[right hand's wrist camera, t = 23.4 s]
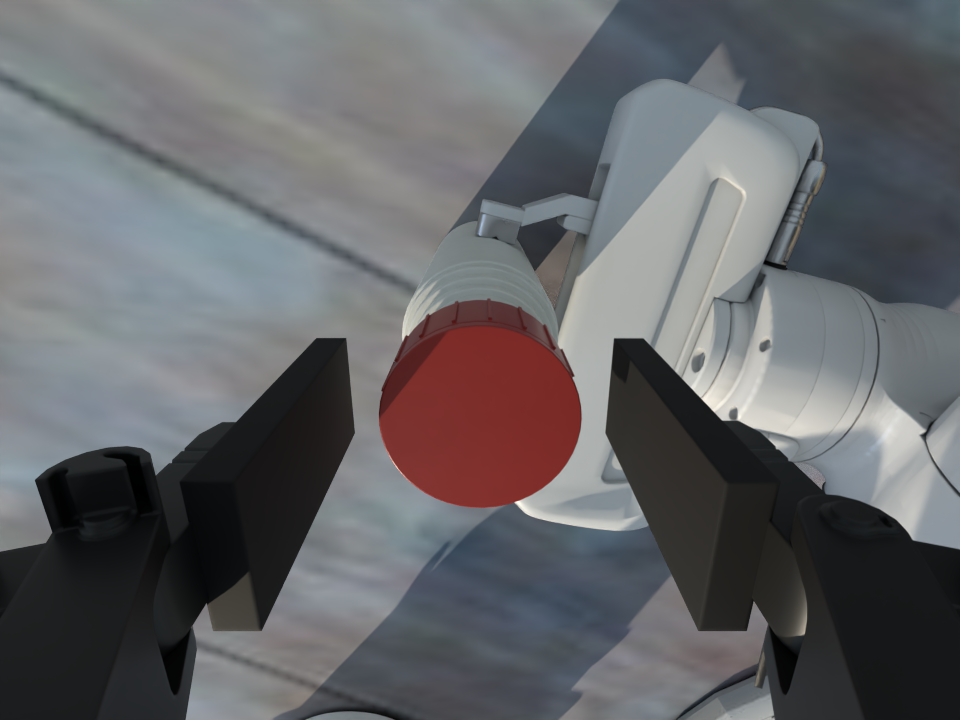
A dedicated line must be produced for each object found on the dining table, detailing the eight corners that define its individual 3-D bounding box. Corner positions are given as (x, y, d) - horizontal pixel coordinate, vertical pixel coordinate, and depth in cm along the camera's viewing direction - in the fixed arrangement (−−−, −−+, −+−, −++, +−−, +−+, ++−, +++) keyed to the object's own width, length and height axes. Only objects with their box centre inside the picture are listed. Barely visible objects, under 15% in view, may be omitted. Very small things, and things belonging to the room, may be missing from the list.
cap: (390, 452, 15) (374, 502, 13) (397, 288, 13) (380, 313, 11) (554, 465, 15) (566, 517, 13) (579, 304, 13) (599, 332, 11)
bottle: (448, 321, 31) (407, 521, 14) (423, 234, 30) (338, 333, 12) (534, 299, 31) (608, 477, 13) (514, 210, 29) (567, 275, 11)
